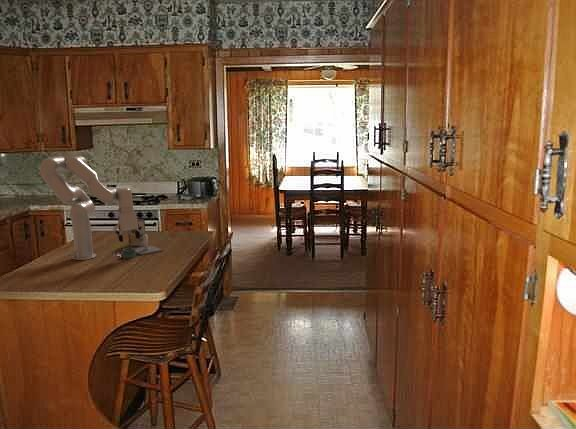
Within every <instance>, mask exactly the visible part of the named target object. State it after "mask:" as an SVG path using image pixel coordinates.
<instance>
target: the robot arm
mask: <svg viewBox="0 0 576 429" xmlns="http://www.w3.org/2000/svg"><path fill="white" fill-rule="evenodd" d="M58 172H70V173H72V174H73V175H74V176H75V177H77V178H78V179H79V180H80V181H81V182H82V183H83V184H85V186H86V187H87V189H88V190H89V192H90V193H91V194H92V195H93V196H94V197H95V198H96V199H98V200H99V201H101V203H104V204H112V203H114V202H117V203H118V209H116V212H117V213H118V214H117V216H118V217H117V224H116V225H115V226H114V227H113V228H112V231H113V232H114V233H115V234H116V235H117V236H118V241H119V242H121V243H123V242H124V240H123V239H124V237H123V236H124V235H123V232H128V231H130V230H136V231H135V235H136V238H137V239H139V237H140V235H139V232H140V230H141V228H142V225H143V223H141V222H138V221H137V219H138V216H137V214H136V211H135V210H134V206H133V205H134V204H133V203H134V202H133V193H132V189H131V188H130V187H122V188H114V187H112V188H111V187H110V188H106V187H105V186H104V185H103V184H102V183H101V181H99V178H98V174H97V172H96V171H95V170H93V169H92V167H90V166H89V164H88V160H87V159H86V158H85V157H84V156H82V155H61V156H60V155H58V156H50V157H46V158H45V159H43V161H42V162H40V166H39V173H40V177H41V178H42V180H43V181H44V182H45V183H46V184H47V186H48V187H49V188H50V189H51V190H52V192H53V193H54V194H55V196H56V197H57V198H58V199H59V200H60V202H62V203H63V204H65V205H71V204H72V205H71V207H70V209H69V217H70V220H71V226H72V235H73V246H74V248H73V249H74V250H72V251H71V252H67V253H65V256H66V257H70V258H72V260H74V261H85V260H90V259H91V260H92V259H94V258H96V257H97V254H96V253H95V252H94V249H93V237H92V236H93V235H92V228H91V227H92V225H91V221H90V218H89V217H91V216H93V215H94V214H95V212H96V205H95V203H94V202H93V200H91V199H90V197H89V196H88V195H87V194H86V192H84V190H83V189H82V188H81V187H79V186H77V185H70V184H69V183H68V181H66V180H65V178H64V177H63V176H62V175H60V174H59V173H58ZM138 224H139V227H138ZM117 229H118V230H117Z"/></svg>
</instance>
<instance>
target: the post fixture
mask: <svg viewBox="0 0 576 429" xmlns="http://www.w3.org/2000/svg"><path fill="white" fill-rule="evenodd" d="M143 239H144V245H143V247H142V246H141V247H137V248H135V253H136V255H139V256H145V255H146V256H147V255H150V254H151V255H152V254H156V253H162V252H163V251H164V250H163V248H159V247H156V246H154V245H149V237H148V234H145V235H143Z"/></svg>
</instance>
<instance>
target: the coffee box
mask: <svg viewBox="0 0 576 429" xmlns="http://www.w3.org/2000/svg"><path fill="white" fill-rule="evenodd" d="M137 221H138V222H141V223H143V225H142V228H141V230H140V232H139V235H140V237H139V239H137V238H136V235H135V231H136V230H130V231H127V235H128V246H137V247H142V246H144V239H143V235H145V234H146V223H145V222H146V221H145V218H137ZM138 227H139V224H138Z"/></svg>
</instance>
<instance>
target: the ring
mask: <svg viewBox="0 0 576 429" xmlns="http://www.w3.org/2000/svg"><path fill="white" fill-rule="evenodd" d="M135 249H136V248H134V247H125V248H122V250H121V251H122V258H123V259H132V258H133V259H134V258H136V257H137V254H136V253H135Z"/></svg>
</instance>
